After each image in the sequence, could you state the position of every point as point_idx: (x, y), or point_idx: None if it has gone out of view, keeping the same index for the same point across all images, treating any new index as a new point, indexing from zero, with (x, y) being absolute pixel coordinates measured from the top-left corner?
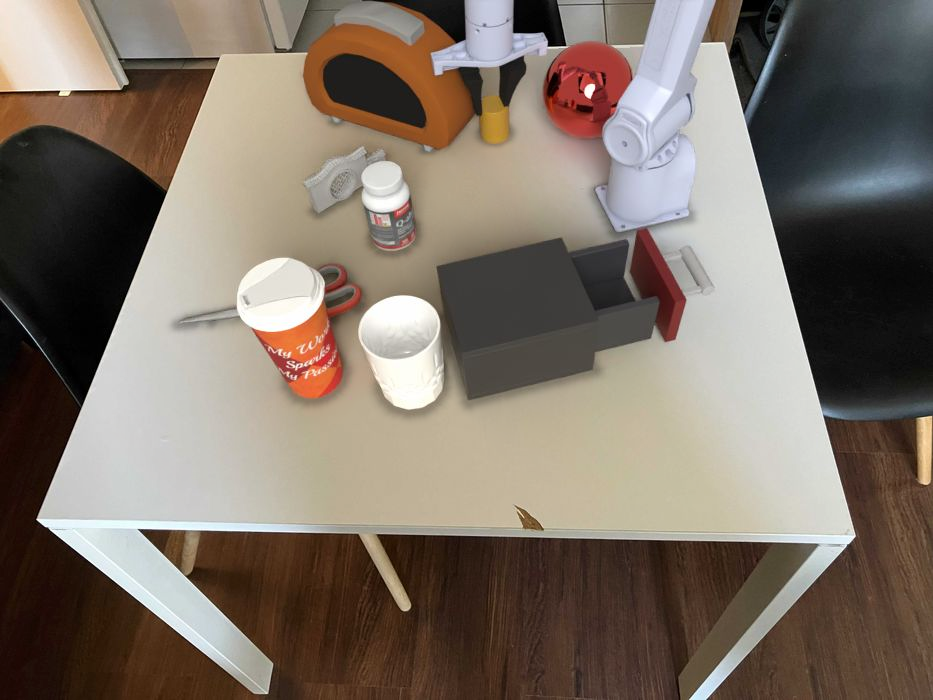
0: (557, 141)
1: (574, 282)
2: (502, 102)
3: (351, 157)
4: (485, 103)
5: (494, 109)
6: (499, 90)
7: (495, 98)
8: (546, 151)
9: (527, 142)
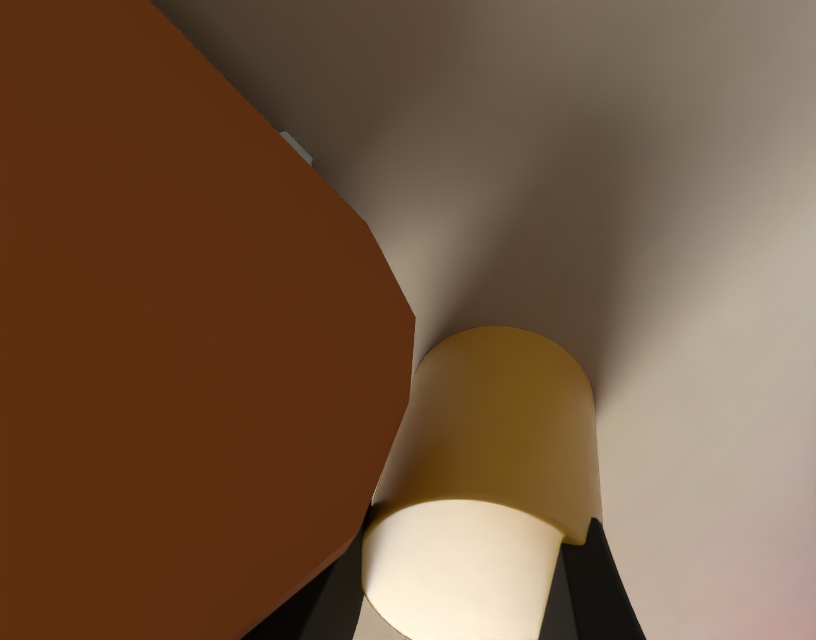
0: (798, 599)
1: None
2: (543, 627)
3: None
4: (413, 558)
5: (456, 629)
6: (567, 597)
7: (518, 550)
8: (692, 620)
9: (640, 535)
